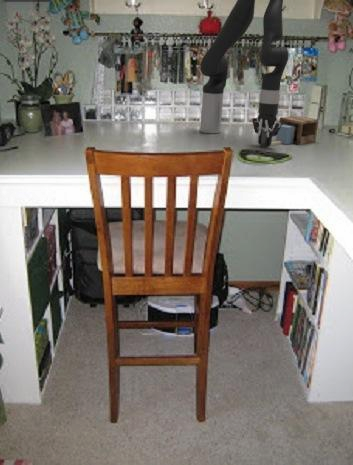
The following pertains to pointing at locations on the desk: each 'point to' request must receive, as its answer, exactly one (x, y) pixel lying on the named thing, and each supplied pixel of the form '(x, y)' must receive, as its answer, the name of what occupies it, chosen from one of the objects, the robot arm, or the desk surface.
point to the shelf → (302, 128)
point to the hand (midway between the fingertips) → (264, 145)
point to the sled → (280, 136)
